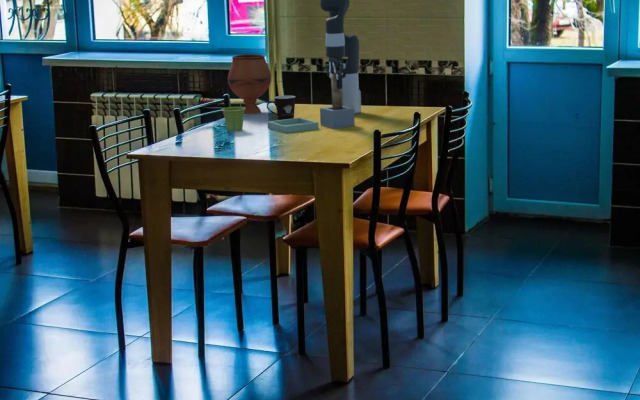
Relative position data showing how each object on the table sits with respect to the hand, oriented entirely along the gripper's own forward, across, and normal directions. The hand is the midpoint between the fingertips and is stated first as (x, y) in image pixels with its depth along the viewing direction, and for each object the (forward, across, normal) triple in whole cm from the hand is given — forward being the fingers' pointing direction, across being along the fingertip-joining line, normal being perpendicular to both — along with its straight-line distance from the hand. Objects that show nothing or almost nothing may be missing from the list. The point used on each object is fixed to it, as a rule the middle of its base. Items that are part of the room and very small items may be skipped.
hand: (336, 87), depth 413 cm
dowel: (+8, 0, 0) cm, 8 cm away
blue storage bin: (+15, 0, 0) cm, 15 cm away
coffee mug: (+15, +25, +12) cm, 32 cm away
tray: (+15, +6, +17) cm, 24 cm away
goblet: (+16, +55, +12) cm, 58 cm away
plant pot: (+15, +18, +37) cm, 44 cm away
